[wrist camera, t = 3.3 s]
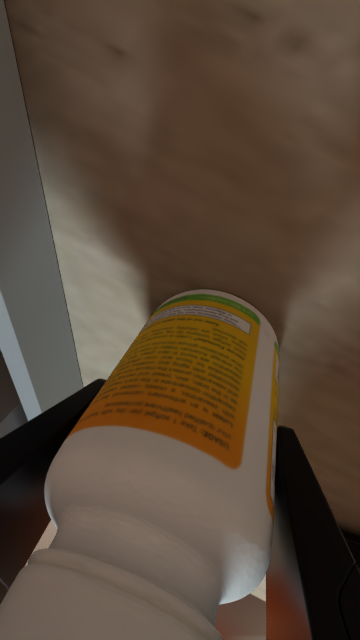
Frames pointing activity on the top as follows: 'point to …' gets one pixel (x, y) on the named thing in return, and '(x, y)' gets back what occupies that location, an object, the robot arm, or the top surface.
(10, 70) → the tray
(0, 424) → the block
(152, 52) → the top surface
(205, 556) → the supplement bottle
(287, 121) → the top surface
